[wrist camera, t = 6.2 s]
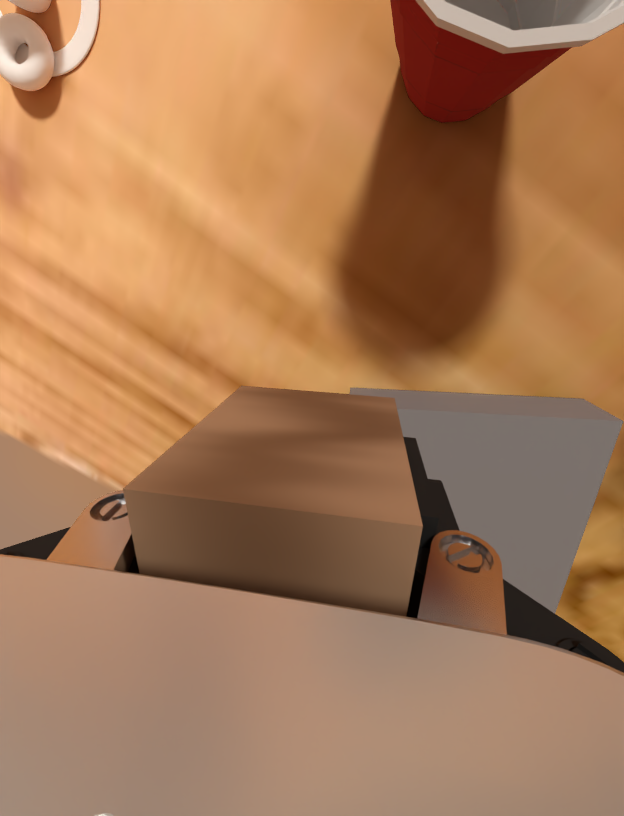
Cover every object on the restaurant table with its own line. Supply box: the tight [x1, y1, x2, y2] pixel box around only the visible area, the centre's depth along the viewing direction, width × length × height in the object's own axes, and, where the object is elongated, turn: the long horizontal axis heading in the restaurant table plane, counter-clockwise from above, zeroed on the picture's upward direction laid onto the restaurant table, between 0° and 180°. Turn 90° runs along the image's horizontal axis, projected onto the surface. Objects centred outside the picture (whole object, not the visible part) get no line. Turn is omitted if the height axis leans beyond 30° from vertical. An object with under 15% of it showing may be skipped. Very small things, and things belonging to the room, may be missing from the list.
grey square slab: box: [350, 388, 623, 614], centre depth 26 cm, size 16×16×4 cm
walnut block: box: [123, 386, 423, 617], centre depth 9 cm, size 5×5×6 cm
